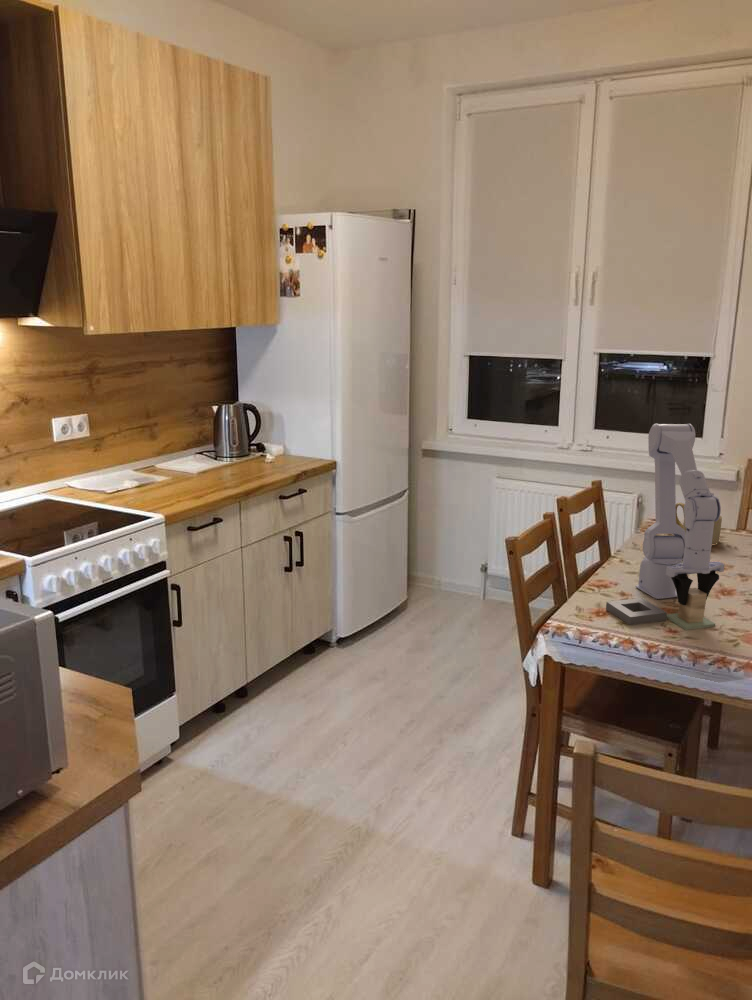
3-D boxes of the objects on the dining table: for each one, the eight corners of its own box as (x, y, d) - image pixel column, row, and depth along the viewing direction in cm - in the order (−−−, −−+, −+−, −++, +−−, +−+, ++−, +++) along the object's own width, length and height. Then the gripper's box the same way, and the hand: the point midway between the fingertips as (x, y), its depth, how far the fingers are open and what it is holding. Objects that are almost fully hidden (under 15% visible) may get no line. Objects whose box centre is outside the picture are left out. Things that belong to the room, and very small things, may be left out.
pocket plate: (605, 609, 191) (606, 601, 191) (641, 605, 194) (641, 597, 193) (629, 624, 182) (630, 617, 181) (666, 620, 185) (666, 612, 184)
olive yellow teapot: (667, 541, 247) (672, 495, 243) (670, 532, 256) (675, 488, 253) (718, 547, 241) (724, 501, 237) (719, 538, 250) (724, 493, 247)
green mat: (664, 616, 187) (664, 614, 187) (692, 613, 189) (692, 611, 189) (686, 629, 179) (686, 627, 179) (715, 626, 182) (715, 623, 181)
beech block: (677, 616, 185) (681, 589, 183) (691, 614, 186) (695, 587, 184) (688, 623, 181) (692, 595, 180) (702, 621, 183) (706, 593, 181)
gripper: (682, 555, 174) (676, 611, 177) (736, 549, 178) (729, 605, 181) (662, 546, 181) (657, 600, 184) (715, 541, 184) (708, 594, 188)
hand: (691, 602), depth 183 cm, fingers open, 5 cm apart
